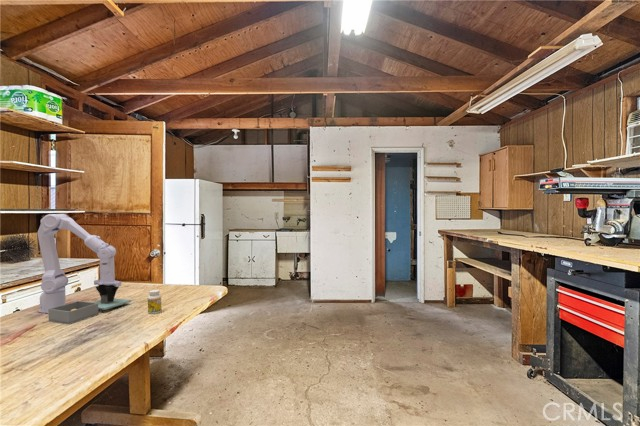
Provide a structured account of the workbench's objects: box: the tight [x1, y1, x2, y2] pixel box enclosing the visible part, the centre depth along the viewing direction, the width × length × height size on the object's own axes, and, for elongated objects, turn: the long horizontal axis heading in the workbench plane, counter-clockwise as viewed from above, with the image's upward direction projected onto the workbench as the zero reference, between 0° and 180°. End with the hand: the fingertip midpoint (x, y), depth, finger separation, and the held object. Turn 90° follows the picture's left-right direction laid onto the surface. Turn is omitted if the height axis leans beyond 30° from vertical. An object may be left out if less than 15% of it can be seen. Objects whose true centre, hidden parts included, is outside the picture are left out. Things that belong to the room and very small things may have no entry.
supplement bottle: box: [147, 289, 162, 315], centre depth 139 cm, size 5×5×10 cm
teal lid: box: [92, 294, 132, 311], centre depth 146 cm, size 14×14×4 cm
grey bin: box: [47, 300, 99, 325], centre depth 132 cm, size 12×12×5 cm
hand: (107, 300), depth 147 cm, fingers closed on teal lid, 3 cm apart
